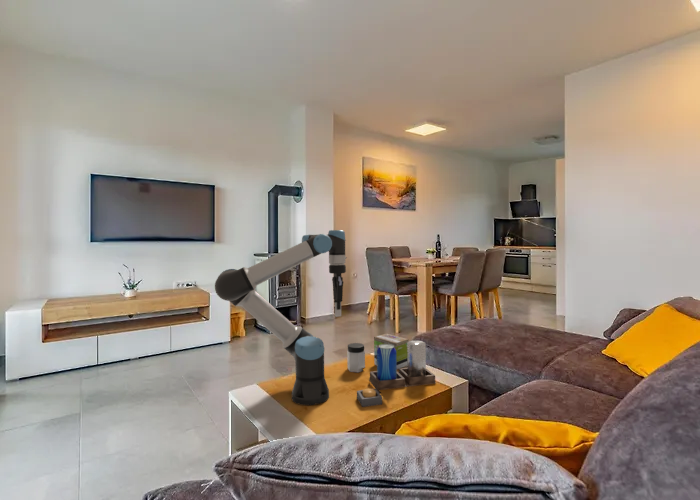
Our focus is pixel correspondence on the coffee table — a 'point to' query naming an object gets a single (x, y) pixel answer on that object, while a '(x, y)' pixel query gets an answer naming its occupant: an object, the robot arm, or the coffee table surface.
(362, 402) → the button housing
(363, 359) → the jar
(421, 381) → the tray
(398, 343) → the tea box
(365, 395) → the button
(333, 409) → the coffee table surface
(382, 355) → the beer can
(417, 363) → the billet
